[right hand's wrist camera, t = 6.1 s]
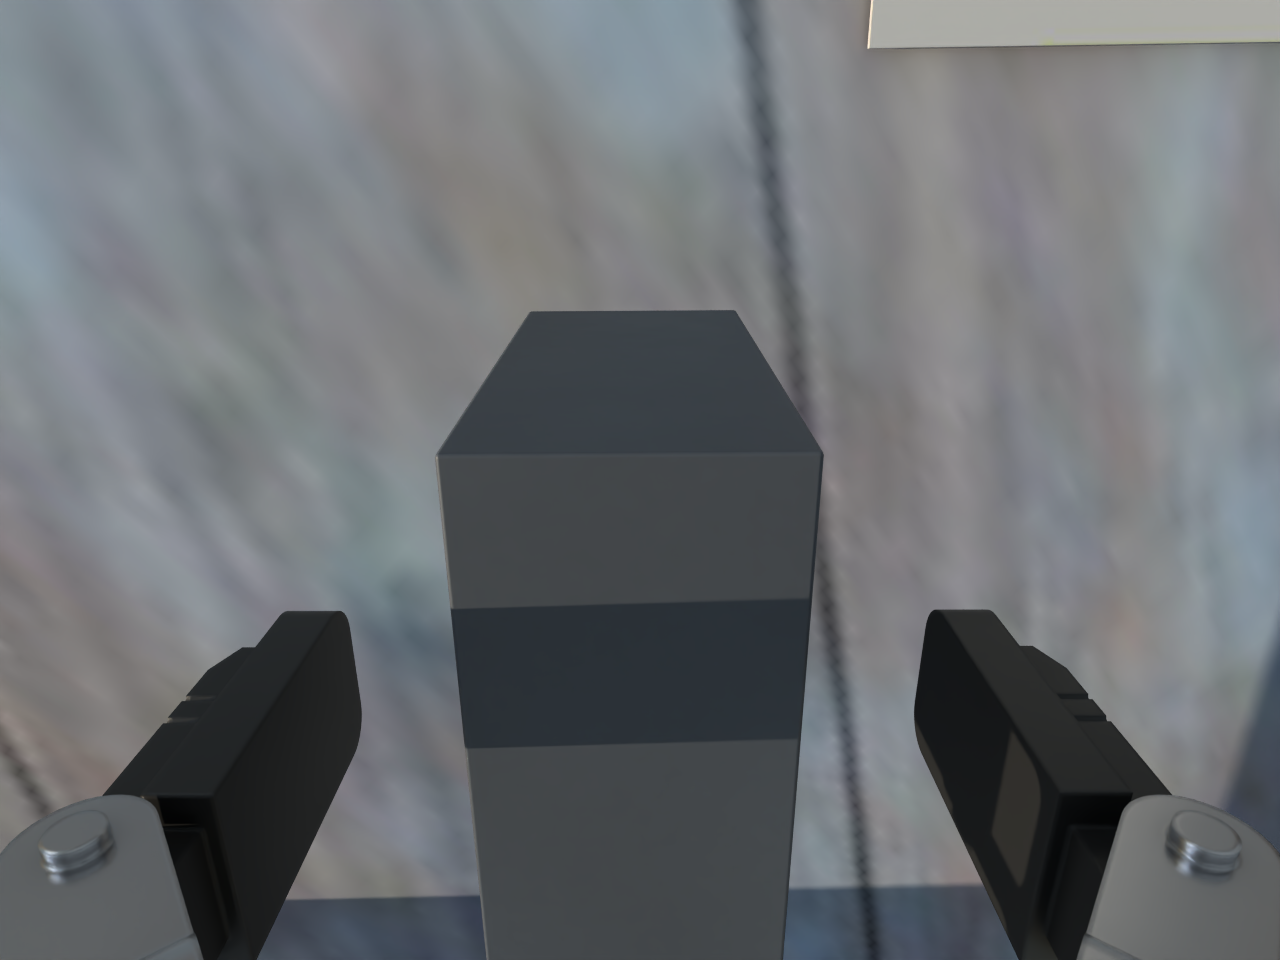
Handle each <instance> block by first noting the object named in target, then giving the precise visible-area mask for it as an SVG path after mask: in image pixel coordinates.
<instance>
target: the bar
mask: <svg viewBox="0 0 1280 960" xmlns="http://www.w3.org/2000/svg"><path fill="white" fill-rule="evenodd" d="M823 458H824V455H823V452H822V450H821V449H820V447H819V445H818V444H817V442H816V440H815V439H814V437H813V436H812V434H811V432H810V431H809V429H808V427H807V426H806V424H805V423H804V421H803V419H802V418H801V416H800V415H799V413H798V411H797V410H796V408H795V406H794V405H793V403H792V402H791V400H790V398H789V397H788V395H787V394H786V392H785V390H784V389H783V387H782V385H781V384H780V382H779V381H778V379H777V377H776V376H775V374H774V372H773V371H772V369H771V368H770V366H769V364H768V363H767V361H766V360H765V358H764V356H763V355H762V353H761V351H760V350H759V348H758V347H757V345H756V343H755V342H754V340H753V339H752V337H751V335H750V334H749V332H748V330H747V329H746V327H745V326H744V324H743V322H742V321H741V319H740V317H739V316H738V314H737V313H736V311H734V310H706V311H545V312H530V313H529V314H528V316H527V317H526V319H525V320H524V322H523V323H522V325H521V326H520V328H519V329H518V331H517V332H516V334H515V335H514V337H513V338H512V340H511V341H510V343H509V344H508V346H507V347H506V349H505V351H504V352H503V354H502V355H501V357H500V358H499V360H498V361H497V363H496V364H495V366H494V367H493V369H492V370H491V372H490V373H489V375H488V376H487V378H486V379H485V381H484V382H483V384H482V385H481V387H480V389H479V390H478V392H477V393H476V395H475V396H474V398H473V399H472V401H471V402H470V404H469V405H468V407H467V408H466V410H465V411H464V413H463V414H462V416H461V417H460V419H459V420H458V422H457V423H456V425H455V427H454V428H453V430H452V431H451V433H450V434H449V436H448V437H447V439H446V440H445V442H444V443H443V445H442V446H441V448H440V449H439V451H438V452H437V454H436V457H435V461H436V471H437V481H438V490H439V500H440V510H441V520H442V529H443V539H444V549H445V559H446V568H447V578H448V588H449V598H450V607H451V617H452V627H453V636H454V646H455V656H456V666H457V675H458V685H459V695H460V705H461V714H462V724H463V734H464V744H465V753H466V763H467V773H468V783H469V792H470V802H471V812H472V822H473V831H474V841H475V851H476V860H477V870H478V880H479V890H480V899H481V909H482V919H483V929H484V938H485V948H486V958H487V960H783V951H784V939H785V926H786V914H787V902H788V889H789V877H790V865H791V852H792V840H793V828H794V815H795V803H796V791H797V778H798V766H799V754H800V741H801V729H802V717H803V704H804V692H805V680H806V667H807V655H808V643H809V630H810V618H811V606H812V593H813V581H814V569H815V556H816V544H817V532H818V519H819V507H820V495H821V482H822V470H823Z"/></svg>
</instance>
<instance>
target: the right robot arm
mask: <svg viewBox="0 0 1280 960" xmlns="http://www.w3.org/2000/svg"><path fill="white" fill-rule="evenodd" d="M361 721H362V711H361V701H360V694H359V687H358V680H357V673H356V667H355V660H354V653H353V646H352V639H351V633H350V627H349V622H348V619H347V617H346V615H345V614H344V613H343V612H342V611H286V612H284V613H282V614H281V615H280V616H279V618H278V619H277V620H276V622H275V623H274V624H273V625H272V627H271V628H270V629H269V630H268V632H267V633H266V634H265V636H264V637H263V638H262V639H261V641H260V642H259V643H258V645H257V646H256V647H242V648H241V649H239V650H238V651H236V652H235V653H233V654H232V655H230V656H229V657H227V658H226V659H224V660H223V661H221V662H219V663H218V664H216V665H215V666H213V667H212V668H210V669H209V670H208V671H207V672H206V673H205V674H204V675H203V677H202V678H201V679H200V680H199V681H198V683H197V684H196V685H195V686H194V687H193V689H192V690H191V691H190V692H189V693H188V694H187V696H186V701H182V702H181V703H180V704H179V705H178V706H177V708H176V709H175V710H174V711H173V712H172V714H171V715H170V716H169V717H168V722H167V723H163V724H162V725H161V727H160V728H159V729H158V730H157V731H156V733H155V734H154V735H153V736H152V737H151V739H150V740H149V741H148V742H147V743H146V744H145V746H144V747H143V748H142V749H141V750H140V752H139V753H138V754H137V755H136V756H135V758H134V759H133V760H132V761H131V762H130V764H129V765H128V766H127V767H126V768H125V769H124V771H123V772H122V773H121V774H120V775H119V777H118V778H117V779H116V780H115V781H114V783H113V784H112V785H111V786H110V787H109V789H108V790H107V791H106V792H105V793H104V794H103V796H100V797H95V798H91V799H86V800H83V801H80V802H77V803H74V804H71V805H69V806H66V807H64V808H61V809H59V810H57V811H55V812H53V813H51V814H49V815H47V816H45V817H43V818H42V819H40V820H38V821H37V822H35V823H34V824H32V825H31V826H29V827H28V828H27V829H25V830H24V831H23V832H21V833H20V834H19V835H18V836H17V837H15V838H14V839H13V840H12V841H11V842H10V843H9V844H8V845H7V846H6V848H5V849H4V850H3V851H2V852H1V854H0V960H257V957H258V955H259V953H260V951H261V949H262V947H263V945H264V943H265V941H266V939H267V937H268V934H269V932H270V930H271V928H272V926H273V924H274V922H275V920H276V918H277V916H278V913H279V911H280V909H281V907H282V905H283V903H284V901H285V899H286V897H287V895H288V893H289V890H290V888H291V886H292V884H293V882H294V880H295V878H296V876H297V874H298V872H299V869H300V867H301V865H302V863H303V861H304V859H305V857H306V855H307V853H308V851H309V848H310V846H311V844H312V842H313V840H314V838H315V836H316V834H317V832H318V830H319V828H320V825H321V823H322V821H323V819H324V817H325V815H326V813H327V811H328V809H329V807H330V804H331V802H332V800H333V798H334V796H335V794H336V792H337V790H338V788H339V786H340V784H341V781H342V779H343V777H344V775H345V773H346V771H347V769H348V767H349V765H350V763H351V760H352V758H353V756H354V754H355V752H356V749H357V746H358V742H359V737H360V731H361ZM914 721H915V731H916V736H917V741H918V745H919V748H920V751H921V753H922V755H923V757H924V759H925V762H926V764H927V766H928V768H929V770H930V772H931V774H932V776H933V778H934V781H935V783H936V785H937V787H938V789H939V791H940V793H941V795H942V798H943V800H944V802H945V804H946V806H947V808H948V810H949V812H950V815H951V817H952V819H953V821H954V823H955V825H956V827H957V829H958V832H959V834H960V836H961V838H962V840H963V842H964V844H965V846H966V849H967V851H968V853H969V855H970V857H971V859H972V861H973V863H974V865H975V868H976V870H977V872H978V874H979V876H980V878H981V880H982V882H983V885H984V887H985V889H986V891H987V893H988V895H989V897H990V899H991V902H992V904H993V906H994V908H995V910H996V912H997V914H998V916H999V919H1000V921H1001V923H1002V925H1003V927H1004V929H1005V931H1006V933H1007V936H1008V938H1009V940H1010V942H1011V944H1012V946H1013V948H1014V950H1015V952H1016V955H1017V957H1018V959H1019V960H1280V854H1279V852H1278V851H1277V850H1276V849H1275V848H1274V846H1273V845H1272V844H1271V843H1270V842H1269V841H1268V840H1267V839H1266V838H1265V837H1263V836H1262V835H1261V834H1260V833H1259V832H1257V831H1256V830H1255V829H1253V828H1252V827H1251V826H1249V825H1248V824H1246V823H1245V822H1243V821H1242V820H1240V819H1238V818H1237V817H1235V816H1233V815H1231V814H1229V813H1227V812H1225V811H1223V810H1221V809H1219V808H1216V807H1214V806H1211V805H1209V804H1206V803H1203V802H1200V801H1197V800H1194V799H1189V798H1185V797H1180V796H1173V795H1172V794H1171V793H1170V792H1169V791H1168V789H1167V788H1166V787H1165V786H1164V785H1163V783H1162V782H1161V781H1160V780H1159V779H1158V777H1157V776H1156V775H1155V774H1154V773H1153V771H1152V770H1151V769H1150V768H1149V767H1148V765H1147V764H1146V763H1145V762H1144V761H1143V759H1142V758H1141V757H1140V756H1139V755H1138V753H1137V752H1136V751H1135V750H1134V749H1133V747H1132V746H1131V745H1130V744H1129V743H1128V741H1127V740H1126V739H1125V738H1124V737H1123V735H1122V734H1121V733H1120V732H1119V731H1118V729H1117V728H1116V727H1115V726H1114V725H1113V723H1112V722H1111V721H1107V720H1106V715H1105V714H1104V713H1103V711H1102V710H1101V709H1100V708H1099V707H1098V705H1097V704H1096V703H1095V702H1094V701H1093V699H1089V698H1088V693H1087V692H1086V691H1085V690H1084V689H1083V687H1082V686H1081V685H1080V684H1079V683H1078V681H1077V680H1076V679H1075V678H1074V677H1073V675H1072V674H1071V673H1070V672H1069V671H1068V669H1067V668H1066V667H1064V666H1062V665H1061V664H1059V663H1058V662H1056V661H1055V660H1053V659H1052V658H1050V657H1049V656H1047V655H1046V654H1044V653H1043V652H1041V651H1040V650H1038V649H1036V648H1035V647H1033V646H1019V644H1018V643H1017V642H1016V641H1015V639H1014V638H1013V637H1012V635H1011V634H1010V633H1009V632H1008V630H1007V629H1006V628H1005V626H1004V625H1003V624H1002V623H1001V621H1000V620H999V619H998V617H997V616H996V615H995V614H994V613H993V612H992V611H990V610H933V611H932V612H931V613H930V615H929V617H928V620H927V623H926V629H925V636H924V643H923V649H922V656H921V663H920V670H919V677H918V684H917V691H916V698H915V706H914Z"/></svg>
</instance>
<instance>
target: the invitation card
mask: <svg viewBox="0 0 1280 960" xmlns="http://www.w3.org/2000/svg"><path fill="white" fill-rule="evenodd" d="M1267 42H1280V0H871V11H870V24H869V37H868V49H890V48H953V47H1016V46H1079V45H1141V44H1204V43H1267Z"/></svg>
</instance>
